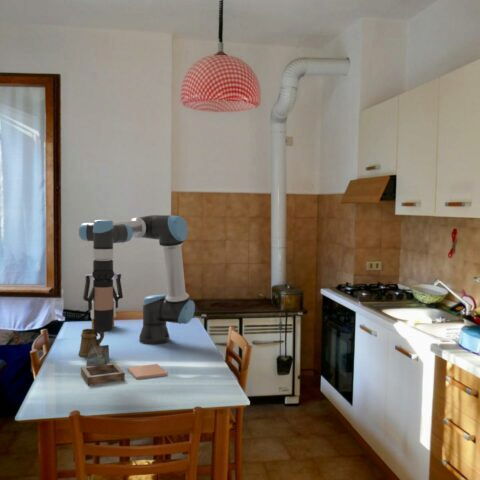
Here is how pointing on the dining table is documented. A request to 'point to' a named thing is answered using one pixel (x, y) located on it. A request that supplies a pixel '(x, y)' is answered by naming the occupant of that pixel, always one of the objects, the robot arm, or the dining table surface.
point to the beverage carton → (98, 355)
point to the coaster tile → (147, 371)
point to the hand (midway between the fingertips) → (103, 317)
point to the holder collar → (104, 378)
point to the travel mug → (103, 306)
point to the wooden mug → (89, 341)
